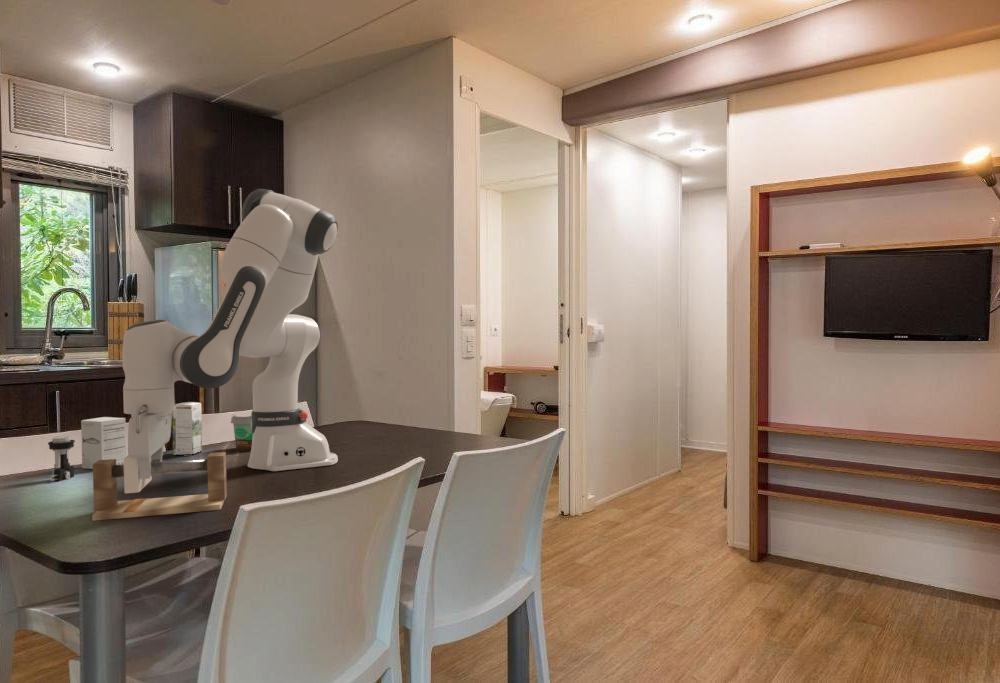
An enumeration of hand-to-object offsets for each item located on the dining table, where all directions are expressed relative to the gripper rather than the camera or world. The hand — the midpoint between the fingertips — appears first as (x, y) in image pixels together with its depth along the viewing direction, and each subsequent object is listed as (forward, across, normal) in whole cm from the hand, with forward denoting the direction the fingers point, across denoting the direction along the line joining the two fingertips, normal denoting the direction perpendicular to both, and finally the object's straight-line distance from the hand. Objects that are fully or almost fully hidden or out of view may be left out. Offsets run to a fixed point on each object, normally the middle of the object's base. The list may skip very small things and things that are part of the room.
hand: (151, 473), depth 130 cm
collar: (+2, 0, +2) cm, 3 cm away
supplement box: (+7, +50, +21) cm, 55 cm away
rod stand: (+7, 0, -2) cm, 7 cm away
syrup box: (+7, +62, +3) cm, 63 cm away
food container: (+7, +63, -13) cm, 65 cm away
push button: (+7, +37, +27) cm, 46 cm away
